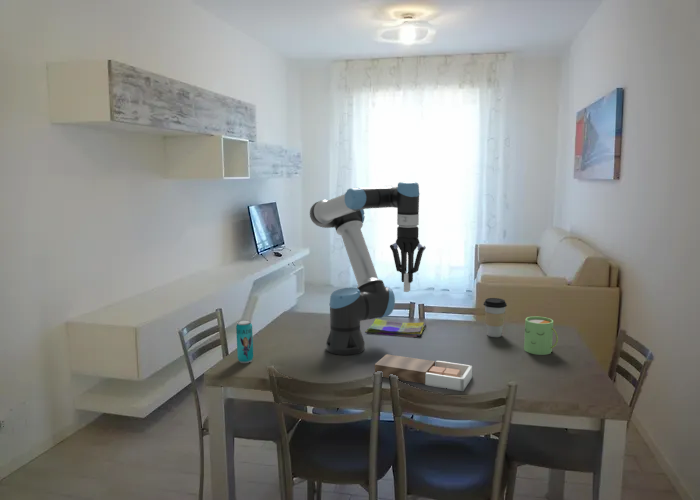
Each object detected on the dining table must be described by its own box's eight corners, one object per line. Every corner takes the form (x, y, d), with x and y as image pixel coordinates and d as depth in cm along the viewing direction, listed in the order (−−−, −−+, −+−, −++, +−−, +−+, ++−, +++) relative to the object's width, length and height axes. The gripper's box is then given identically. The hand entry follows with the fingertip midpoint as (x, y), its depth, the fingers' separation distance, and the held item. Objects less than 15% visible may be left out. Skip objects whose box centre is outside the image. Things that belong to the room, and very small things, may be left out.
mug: (519, 350, 212) (520, 320, 210) (531, 344, 220) (532, 314, 218) (551, 358, 204) (552, 327, 202) (562, 351, 211) (564, 320, 209)
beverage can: (240, 365, 200) (238, 325, 198) (235, 360, 205) (234, 321, 203) (255, 362, 203) (254, 322, 200) (250, 357, 208) (249, 318, 206)
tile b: (456, 374, 180) (456, 383, 180) (460, 369, 184) (460, 378, 185) (443, 372, 182) (443, 381, 182) (446, 367, 186) (446, 376, 186)
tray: (425, 385, 181) (425, 373, 180) (436, 371, 192) (436, 360, 192) (463, 391, 175) (463, 379, 175) (472, 376, 187) (472, 365, 186)
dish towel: (375, 322, 253) (375, 316, 252) (428, 327, 245) (428, 321, 245) (364, 334, 236) (364, 327, 236) (420, 339, 229) (420, 332, 229)
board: (374, 375, 189) (374, 364, 188) (386, 364, 199) (386, 354, 198) (425, 383, 182) (425, 372, 181) (434, 372, 191) (435, 361, 191)
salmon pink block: (428, 379, 184) (428, 370, 184) (432, 374, 188) (432, 366, 188) (442, 381, 182) (442, 372, 182) (445, 376, 186) (445, 367, 186)
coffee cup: (506, 339, 226) (507, 303, 224) (482, 337, 228) (483, 302, 226) (504, 332, 235) (506, 297, 233) (482, 331, 237) (483, 297, 235)
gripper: (386, 226, 195) (386, 291, 199) (422, 228, 189) (420, 295, 193) (394, 223, 201) (393, 287, 205) (428, 225, 196) (427, 290, 200)
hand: (407, 290), depth 199 cm, fingers closed
